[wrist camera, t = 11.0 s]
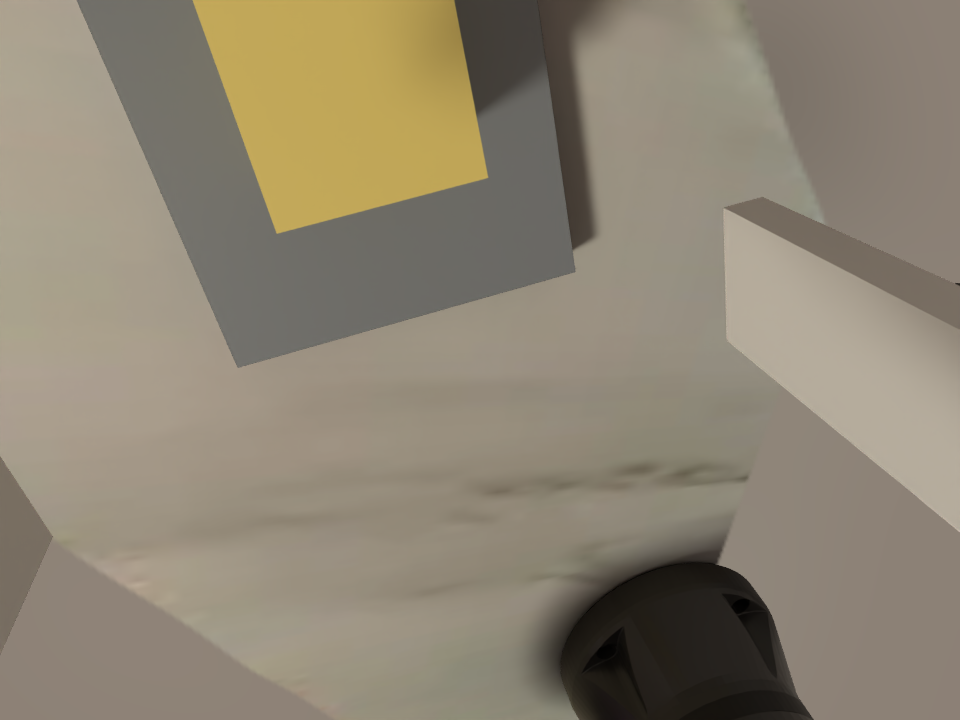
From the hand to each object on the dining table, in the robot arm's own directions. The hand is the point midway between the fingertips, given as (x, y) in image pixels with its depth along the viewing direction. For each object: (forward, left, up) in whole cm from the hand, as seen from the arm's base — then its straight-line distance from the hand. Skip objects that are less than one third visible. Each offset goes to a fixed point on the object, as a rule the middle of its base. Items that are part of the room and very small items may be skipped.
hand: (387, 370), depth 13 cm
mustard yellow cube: (+3, -1, -19) cm, 19 cm away
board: (+1, -1, -21) cm, 21 cm away
